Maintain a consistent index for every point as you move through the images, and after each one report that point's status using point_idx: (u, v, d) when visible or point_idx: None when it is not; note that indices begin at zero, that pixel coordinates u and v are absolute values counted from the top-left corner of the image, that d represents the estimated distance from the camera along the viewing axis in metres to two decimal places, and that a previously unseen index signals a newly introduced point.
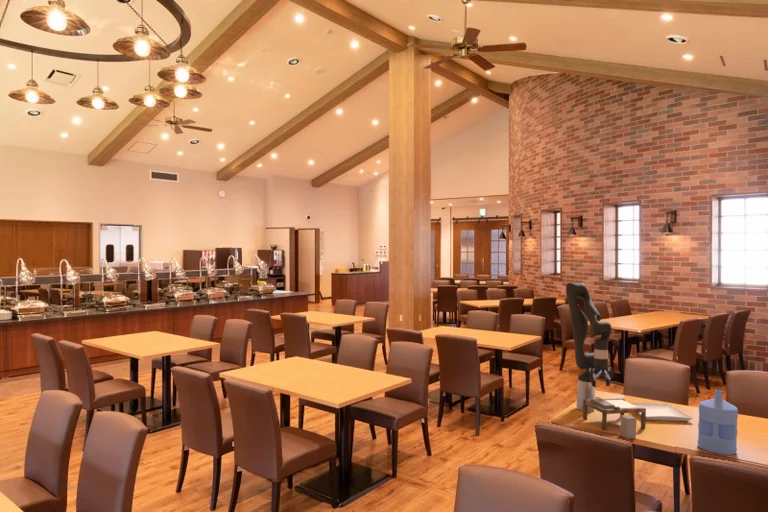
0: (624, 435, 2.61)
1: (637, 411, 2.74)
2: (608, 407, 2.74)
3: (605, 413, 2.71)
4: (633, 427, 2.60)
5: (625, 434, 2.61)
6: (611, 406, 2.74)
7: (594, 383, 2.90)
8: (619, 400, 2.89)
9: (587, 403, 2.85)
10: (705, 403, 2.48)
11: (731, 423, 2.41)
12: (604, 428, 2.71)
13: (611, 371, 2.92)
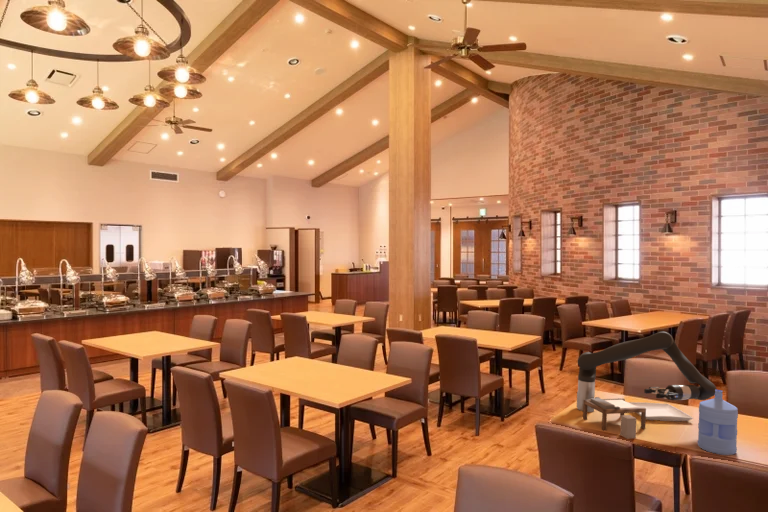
0: (624, 435, 2.61)
1: (637, 411, 2.74)
2: (608, 407, 2.74)
3: (605, 413, 2.71)
4: (633, 427, 2.60)
5: (625, 434, 2.61)
6: (611, 406, 2.74)
7: (660, 397, 2.60)
8: (619, 400, 2.89)
9: (587, 403, 2.85)
10: (705, 403, 2.48)
11: (731, 423, 2.41)
12: (604, 428, 2.71)
13: (656, 392, 2.72)
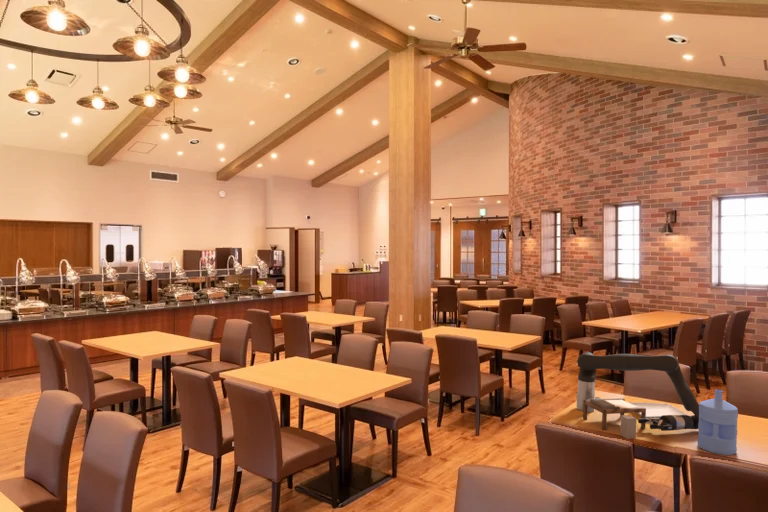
0: (624, 435, 2.61)
1: (637, 411, 2.74)
2: (608, 407, 2.74)
3: (605, 413, 2.71)
4: (633, 427, 2.60)
5: (625, 434, 2.61)
6: (611, 406, 2.74)
7: (654, 428, 2.60)
8: (619, 400, 2.89)
9: (587, 403, 2.85)
10: (705, 403, 2.48)
11: (731, 423, 2.41)
12: (604, 428, 2.71)
13: (650, 421, 2.72)
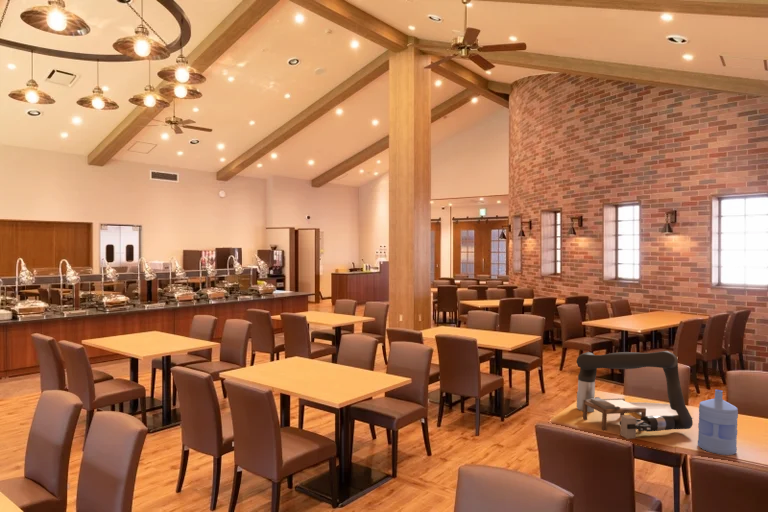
0: (624, 435, 2.61)
1: (637, 411, 2.74)
2: (608, 407, 2.74)
3: (605, 413, 2.71)
4: None
5: (625, 434, 2.61)
6: (611, 406, 2.74)
7: (631, 428, 2.59)
8: (619, 400, 2.89)
9: (587, 403, 2.85)
10: (705, 403, 2.48)
11: (731, 423, 2.41)
12: (604, 428, 2.71)
13: None
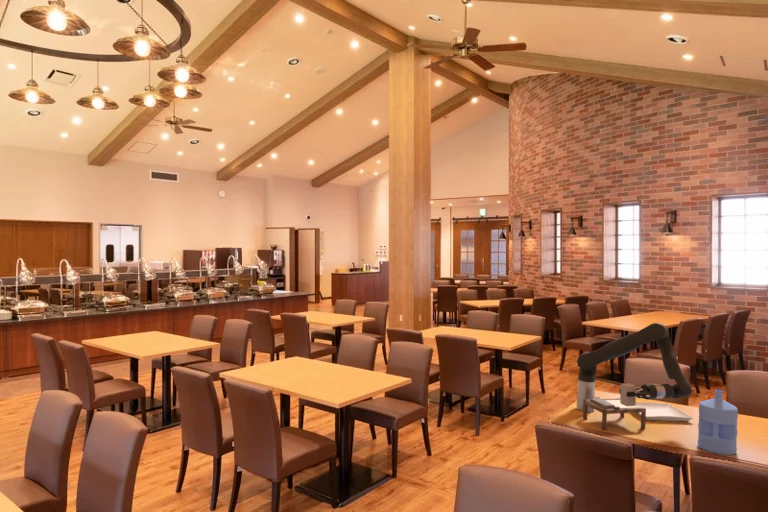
0: (624, 403, 2.64)
1: (637, 411, 2.74)
2: (608, 407, 2.74)
3: (605, 413, 2.71)
4: None
5: (625, 402, 2.63)
6: (611, 406, 2.74)
7: (630, 396, 2.62)
8: (619, 400, 2.89)
9: (587, 403, 2.85)
10: (705, 403, 2.48)
11: (731, 423, 2.41)
12: (604, 428, 2.71)
13: None
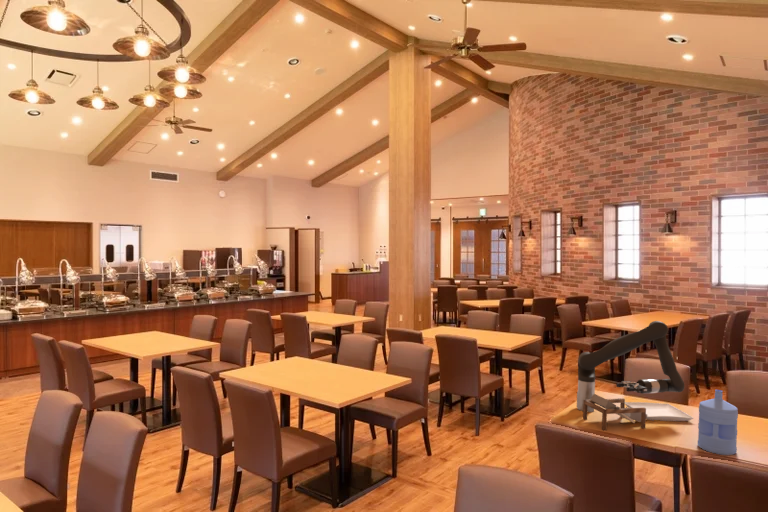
0: None
1: (637, 411, 2.74)
2: (610, 404, 2.74)
3: (605, 413, 2.71)
4: (638, 418, 2.82)
5: None
6: (613, 404, 2.75)
7: None
8: None
9: (587, 403, 2.85)
10: (705, 403, 2.48)
11: (731, 423, 2.41)
12: (604, 428, 2.71)
13: None
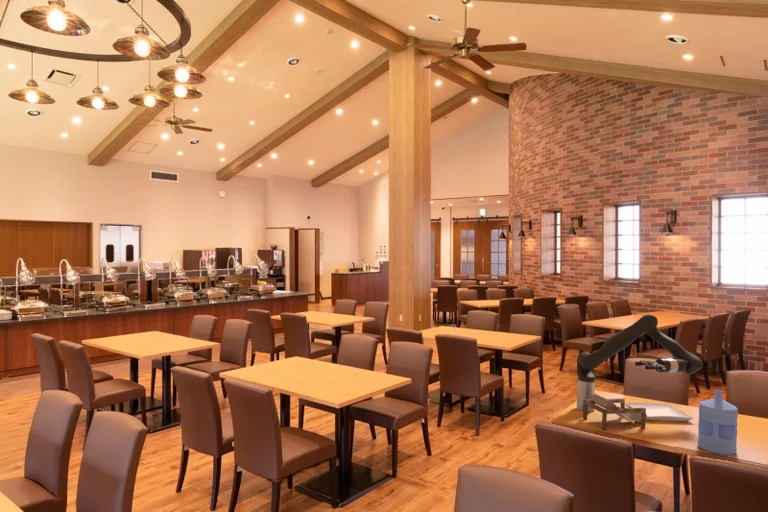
0: None
1: (637, 411, 2.74)
2: (610, 403, 2.74)
3: (605, 413, 2.71)
4: (638, 418, 2.82)
5: None
6: (613, 404, 2.75)
7: (649, 369, 2.82)
8: None
9: (587, 403, 2.85)
10: (705, 403, 2.48)
11: (731, 423, 2.41)
12: (604, 428, 2.71)
13: (647, 365, 2.93)
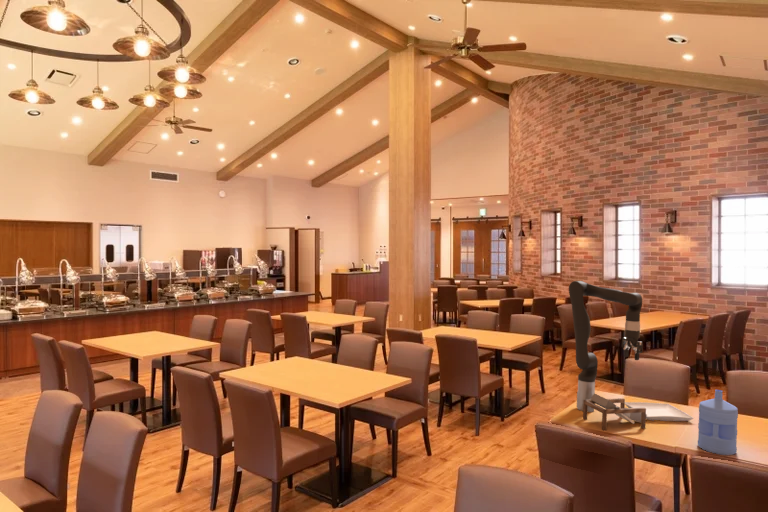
0: None
1: (637, 411, 2.74)
2: (610, 403, 2.74)
3: (605, 413, 2.71)
4: (638, 419, 2.82)
5: None
6: (613, 404, 2.75)
7: None
8: None
9: (587, 403, 2.85)
10: (705, 403, 2.48)
11: (731, 423, 2.41)
12: (604, 428, 2.71)
13: None
